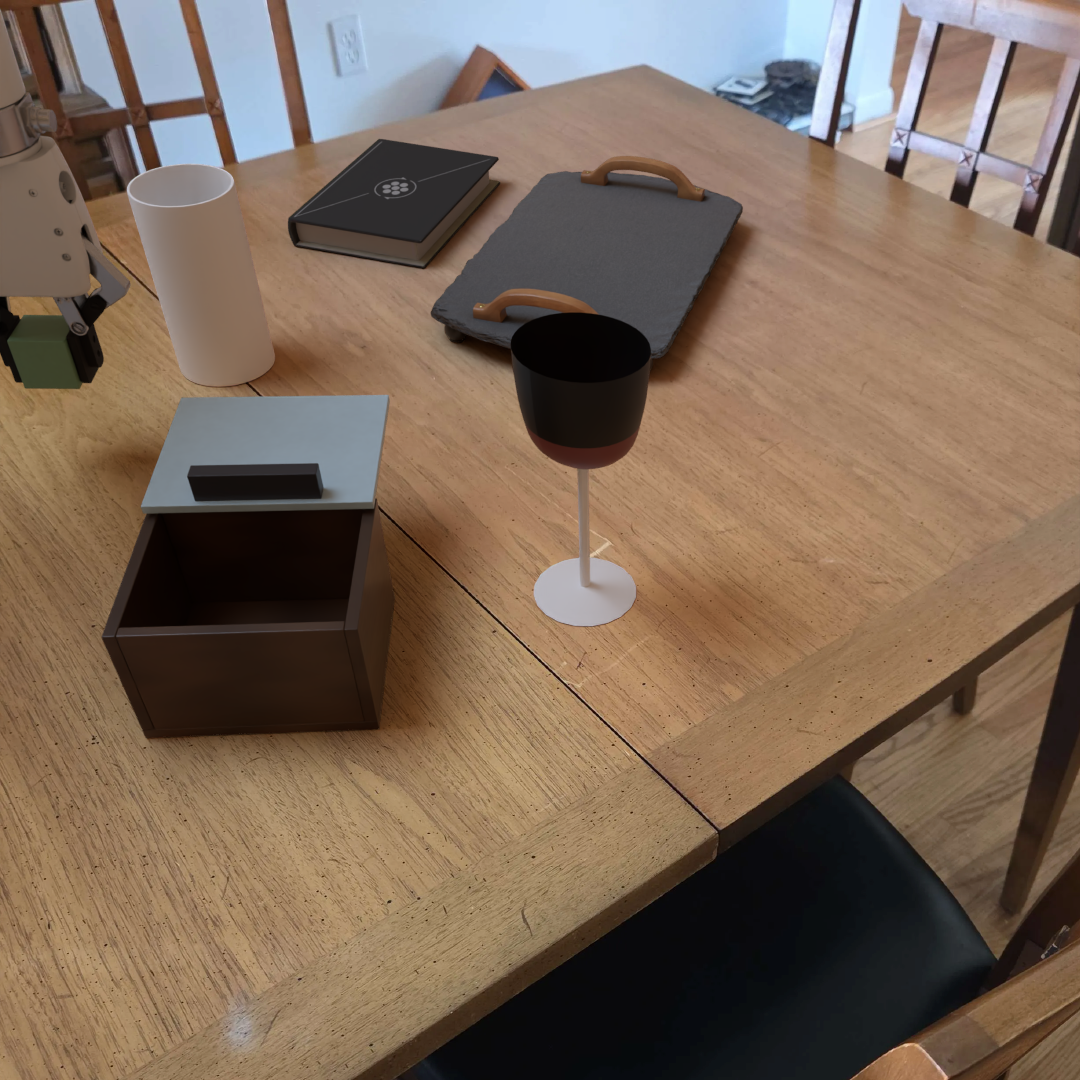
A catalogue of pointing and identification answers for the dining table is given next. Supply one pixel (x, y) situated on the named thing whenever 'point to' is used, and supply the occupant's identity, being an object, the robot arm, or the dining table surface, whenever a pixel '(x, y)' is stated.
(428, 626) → the dining table surface
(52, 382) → the block
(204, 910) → the dining table surface
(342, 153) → the dining table surface
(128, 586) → the case
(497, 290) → the serving tray
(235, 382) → the cup
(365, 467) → the sliding box lid
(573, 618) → the wineglass
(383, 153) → the book
